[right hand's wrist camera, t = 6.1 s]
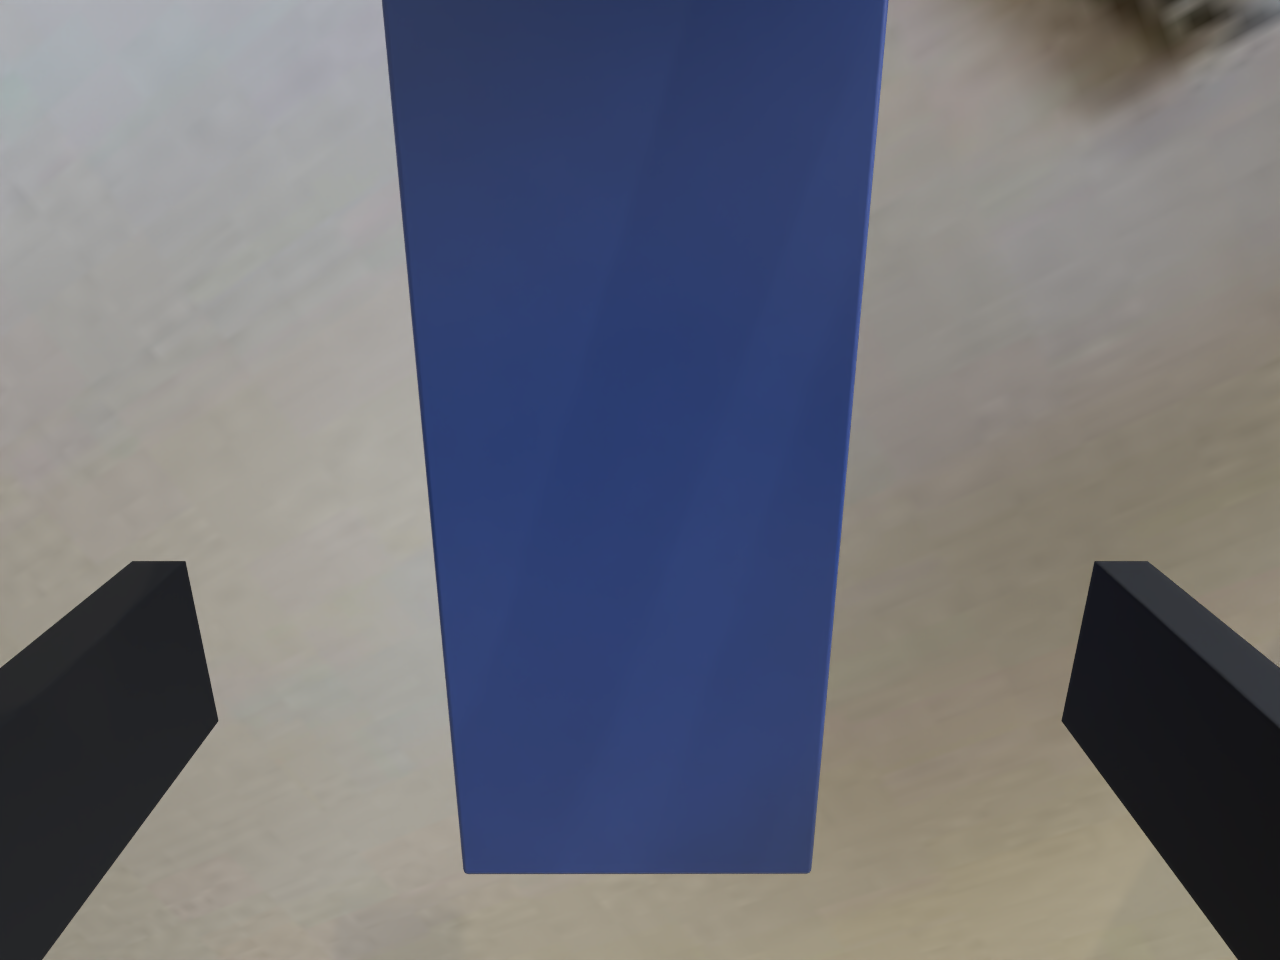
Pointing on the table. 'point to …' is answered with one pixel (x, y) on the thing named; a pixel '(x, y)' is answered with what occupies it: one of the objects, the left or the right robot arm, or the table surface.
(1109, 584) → the right robot arm
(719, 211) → the bar
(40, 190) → the table surface
